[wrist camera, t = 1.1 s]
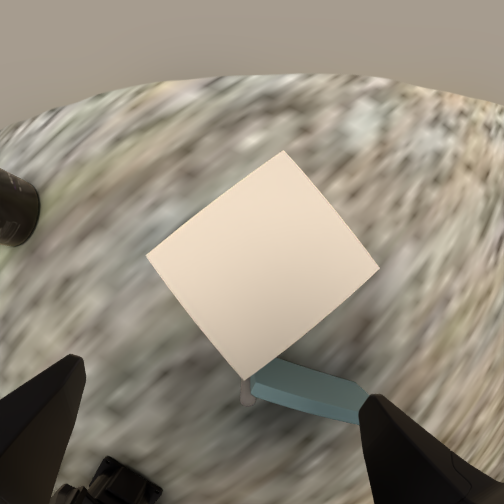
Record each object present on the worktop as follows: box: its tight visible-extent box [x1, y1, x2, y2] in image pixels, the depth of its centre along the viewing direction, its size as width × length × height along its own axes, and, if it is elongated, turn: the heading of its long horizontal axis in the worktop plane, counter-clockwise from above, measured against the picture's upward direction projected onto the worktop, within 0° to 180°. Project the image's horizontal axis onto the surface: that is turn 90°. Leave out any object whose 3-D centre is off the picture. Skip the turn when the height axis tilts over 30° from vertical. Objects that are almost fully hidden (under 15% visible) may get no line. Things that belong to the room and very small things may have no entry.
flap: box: [240, 358, 370, 425], centre depth 18 cm, size 9×2×8 cm, turn 69°
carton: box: [146, 150, 379, 381], centre depth 19 cm, size 9×8×8 cm
